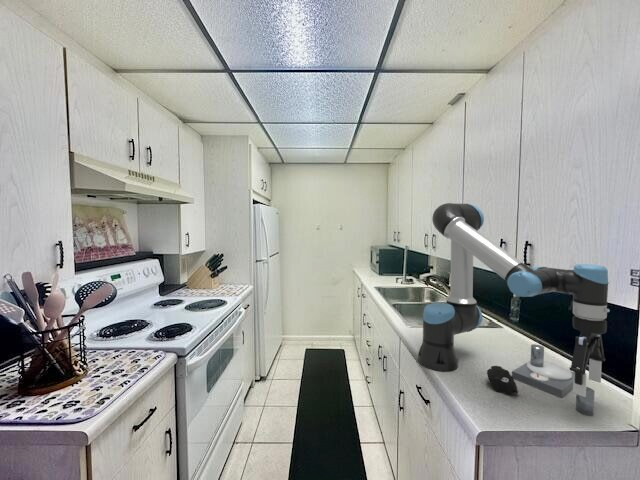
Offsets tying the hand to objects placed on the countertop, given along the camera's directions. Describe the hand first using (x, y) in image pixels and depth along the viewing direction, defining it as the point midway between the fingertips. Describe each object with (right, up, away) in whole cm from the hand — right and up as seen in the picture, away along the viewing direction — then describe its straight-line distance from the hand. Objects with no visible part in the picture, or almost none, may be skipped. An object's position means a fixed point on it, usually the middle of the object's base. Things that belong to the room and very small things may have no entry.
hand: (587, 387), depth 89 cm
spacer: (+2, -3, +23) cm, 23 cm away
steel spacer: (0, -8, +1) cm, 8 cm away
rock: (-17, -7, +14) cm, 24 cm away
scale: (+2, -7, +19) cm, 20 cm away
